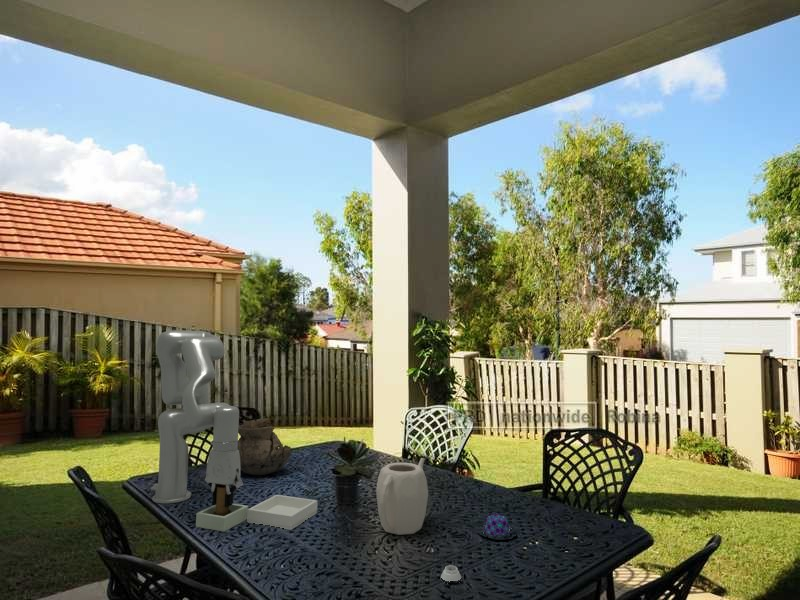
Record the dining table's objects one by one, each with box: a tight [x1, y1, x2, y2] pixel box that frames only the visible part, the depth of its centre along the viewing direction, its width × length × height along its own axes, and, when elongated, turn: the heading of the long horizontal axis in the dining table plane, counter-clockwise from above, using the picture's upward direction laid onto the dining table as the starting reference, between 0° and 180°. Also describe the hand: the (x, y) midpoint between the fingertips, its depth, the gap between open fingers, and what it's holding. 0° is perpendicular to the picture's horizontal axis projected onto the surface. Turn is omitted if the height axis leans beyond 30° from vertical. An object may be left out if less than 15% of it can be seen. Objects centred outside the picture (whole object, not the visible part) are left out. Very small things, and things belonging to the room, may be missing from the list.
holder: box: [195, 503, 249, 532], centre depth 158 cm, size 10×12×4 cm
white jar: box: [440, 564, 462, 582], centre depth 123 cm, size 5×3×5 cm
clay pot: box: [237, 417, 292, 476], centre depth 215 cm, size 25×24×22 cm
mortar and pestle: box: [213, 484, 232, 516], centre depth 158 cm, size 7×6×18 cm
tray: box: [246, 494, 318, 531], centre depth 163 cm, size 16×16×4 cm
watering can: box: [375, 457, 429, 536], centre depth 156 cm, size 16×27×19 cm, turn 150°
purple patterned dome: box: [484, 514, 510, 535], centre depth 152 cm, size 12×12×5 cm
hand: (222, 504), depth 158 cm, fingers closed on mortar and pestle, 4 cm apart
